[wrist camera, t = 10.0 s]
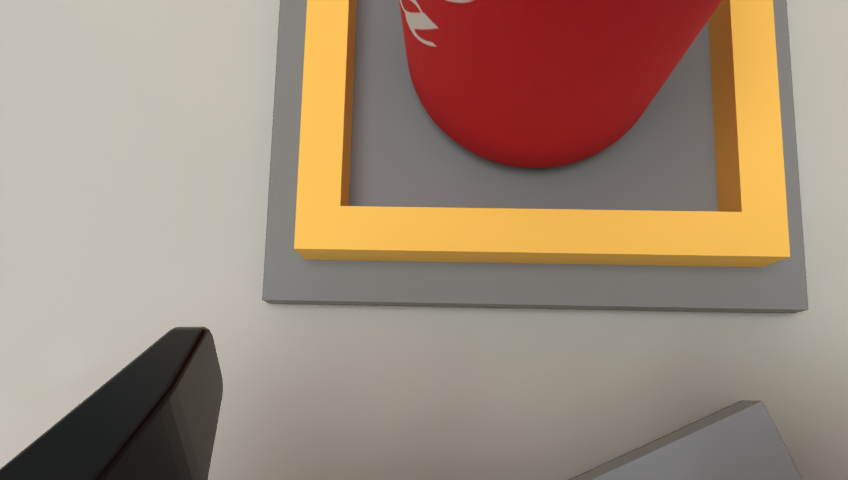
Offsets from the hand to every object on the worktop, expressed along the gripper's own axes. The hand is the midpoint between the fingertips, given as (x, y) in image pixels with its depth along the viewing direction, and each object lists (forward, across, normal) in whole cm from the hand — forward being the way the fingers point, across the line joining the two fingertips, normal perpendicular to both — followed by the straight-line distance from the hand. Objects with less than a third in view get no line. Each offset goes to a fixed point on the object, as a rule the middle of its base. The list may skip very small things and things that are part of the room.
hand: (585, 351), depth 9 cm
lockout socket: (+13, 0, +1) cm, 13 cm away
